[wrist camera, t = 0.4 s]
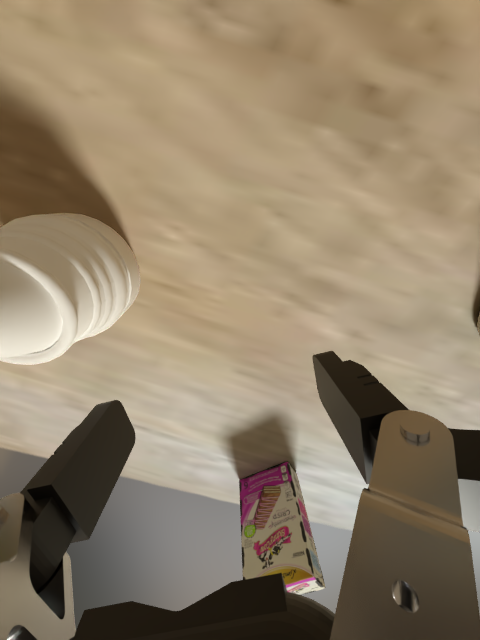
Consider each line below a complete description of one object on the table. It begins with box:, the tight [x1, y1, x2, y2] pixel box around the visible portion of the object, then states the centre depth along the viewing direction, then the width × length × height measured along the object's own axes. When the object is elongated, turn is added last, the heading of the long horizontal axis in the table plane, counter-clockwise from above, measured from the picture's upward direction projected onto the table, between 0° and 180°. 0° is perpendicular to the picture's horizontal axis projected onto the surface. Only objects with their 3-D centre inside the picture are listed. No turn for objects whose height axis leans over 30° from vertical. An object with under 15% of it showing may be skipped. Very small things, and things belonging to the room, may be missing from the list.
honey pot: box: [0, 213, 141, 365], centre depth 21 cm, size 13×13×18 cm
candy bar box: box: [239, 462, 325, 595], centre depth 41 cm, size 11×5×16 cm, turn 119°
